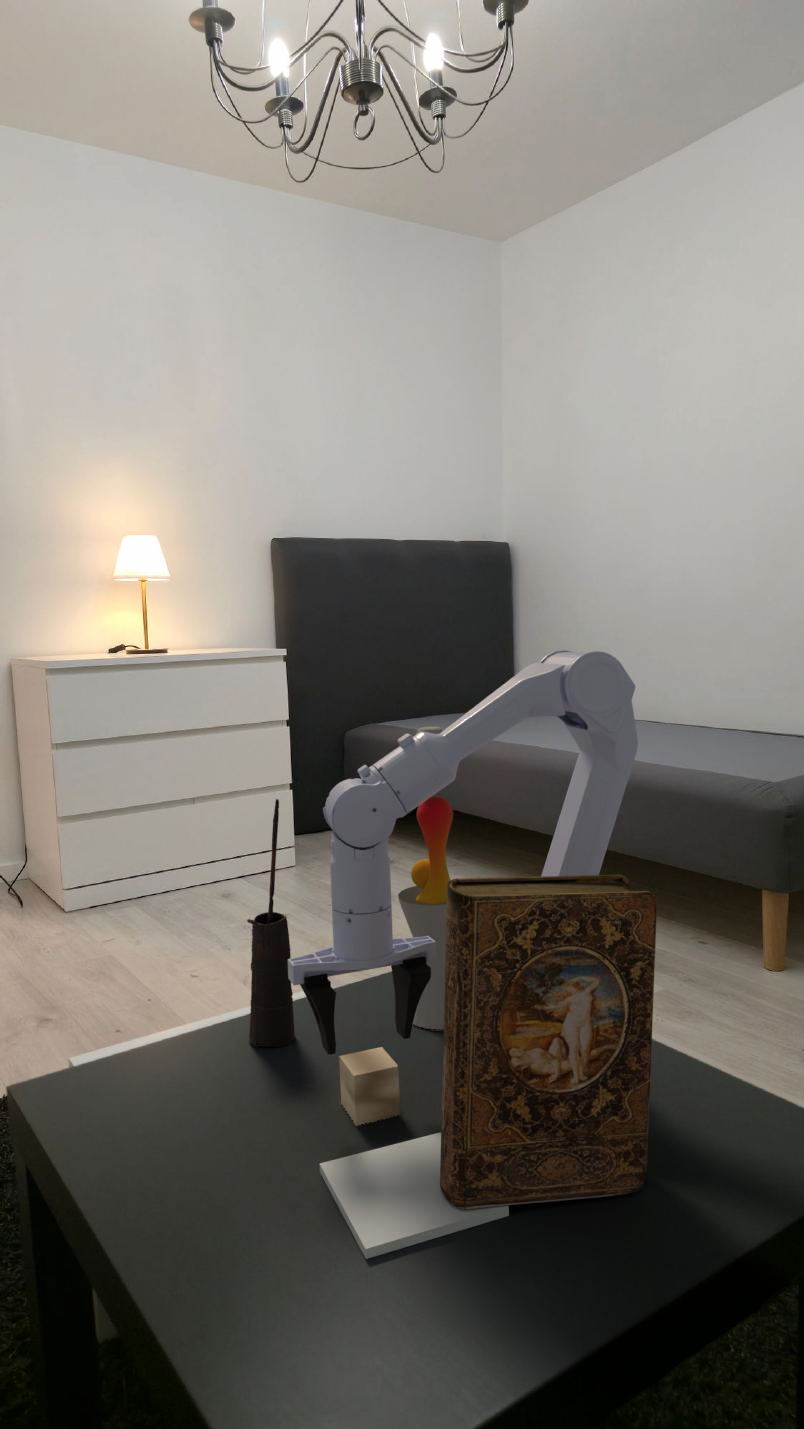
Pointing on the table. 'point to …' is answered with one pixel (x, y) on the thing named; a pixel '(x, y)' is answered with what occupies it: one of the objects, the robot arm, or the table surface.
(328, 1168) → the pad
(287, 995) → the butter churn
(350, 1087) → the birch block
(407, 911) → the lava lamp
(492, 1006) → the book
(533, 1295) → the table surface
